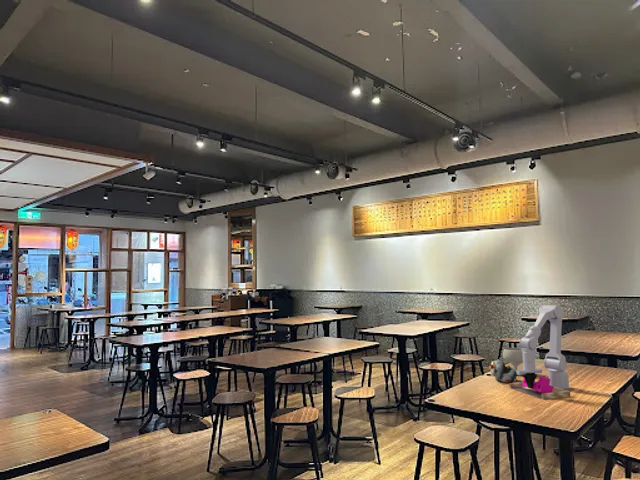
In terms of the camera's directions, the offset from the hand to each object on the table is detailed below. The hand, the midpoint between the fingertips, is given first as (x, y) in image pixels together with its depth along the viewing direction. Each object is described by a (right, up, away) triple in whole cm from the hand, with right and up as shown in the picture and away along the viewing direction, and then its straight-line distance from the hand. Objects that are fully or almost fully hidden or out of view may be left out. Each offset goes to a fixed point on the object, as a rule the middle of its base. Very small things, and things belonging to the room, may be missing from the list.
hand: (530, 388), depth 230 cm
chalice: (+12, -6, +45) cm, 47 cm away
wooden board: (+5, -2, +1) cm, 6 cm away
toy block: (+3, -2, +1) cm, 4 cm away
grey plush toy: (-3, -5, +26) cm, 27 cm away
